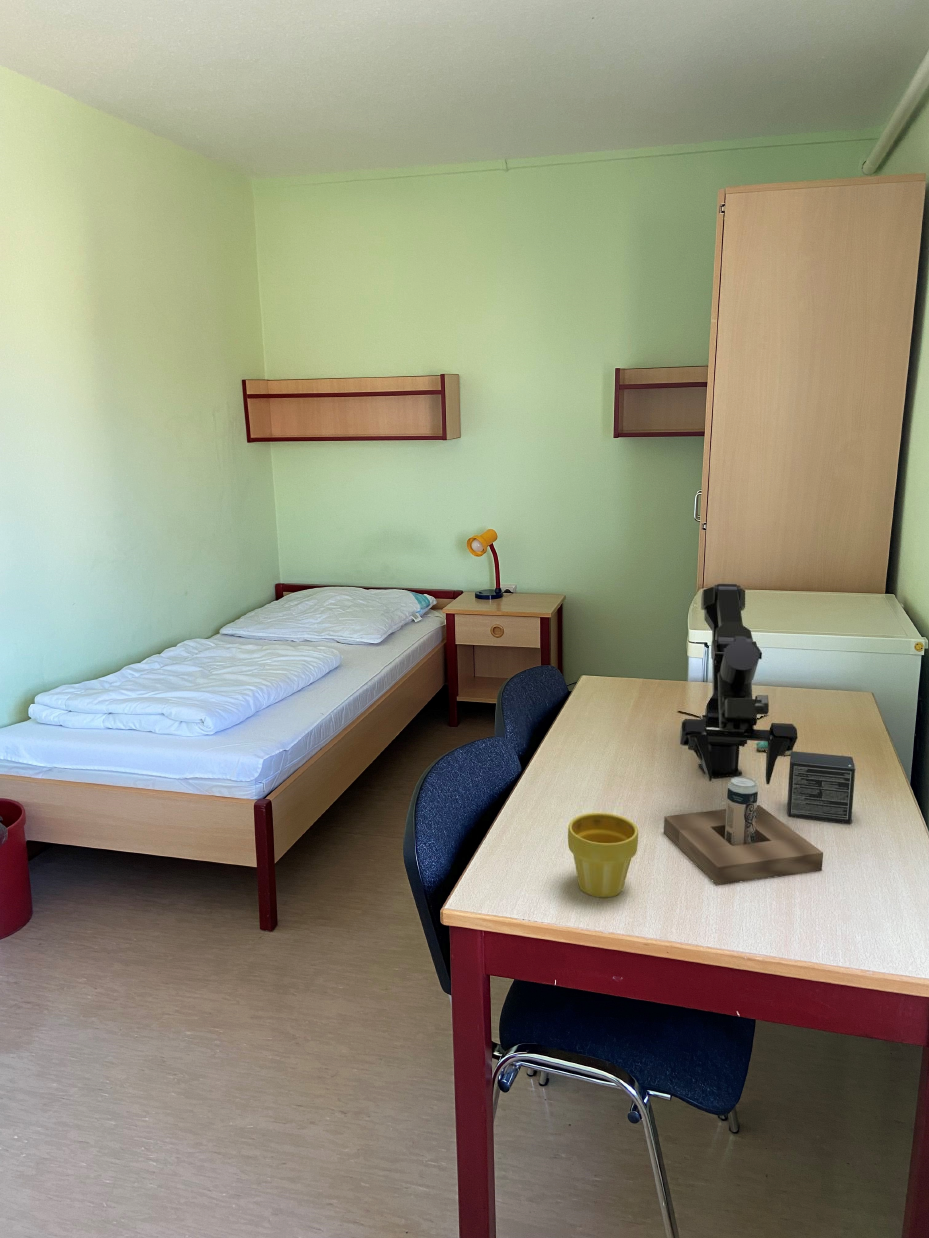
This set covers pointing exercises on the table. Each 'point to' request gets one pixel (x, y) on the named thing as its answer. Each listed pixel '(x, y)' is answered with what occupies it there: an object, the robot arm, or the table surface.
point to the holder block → (742, 847)
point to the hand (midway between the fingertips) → (739, 781)
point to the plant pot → (602, 851)
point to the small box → (821, 787)
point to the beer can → (741, 811)
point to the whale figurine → (765, 746)
